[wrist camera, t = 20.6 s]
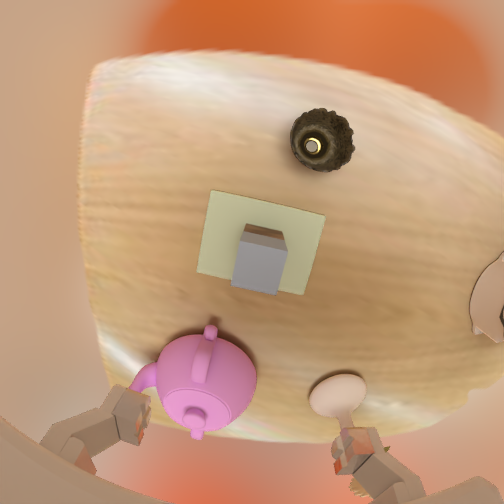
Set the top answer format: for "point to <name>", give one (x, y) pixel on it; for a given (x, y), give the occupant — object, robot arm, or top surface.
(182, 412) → the teapot
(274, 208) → the base plate
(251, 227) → the walnut block
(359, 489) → the flower in vase
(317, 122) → the dark brown round piece
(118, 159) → the top surface
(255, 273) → the slate block
